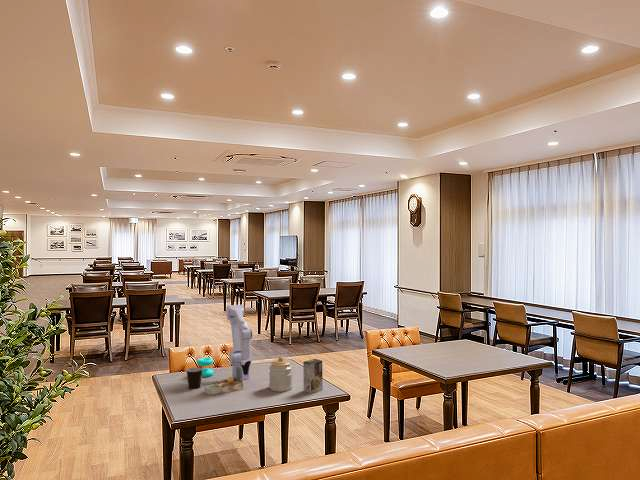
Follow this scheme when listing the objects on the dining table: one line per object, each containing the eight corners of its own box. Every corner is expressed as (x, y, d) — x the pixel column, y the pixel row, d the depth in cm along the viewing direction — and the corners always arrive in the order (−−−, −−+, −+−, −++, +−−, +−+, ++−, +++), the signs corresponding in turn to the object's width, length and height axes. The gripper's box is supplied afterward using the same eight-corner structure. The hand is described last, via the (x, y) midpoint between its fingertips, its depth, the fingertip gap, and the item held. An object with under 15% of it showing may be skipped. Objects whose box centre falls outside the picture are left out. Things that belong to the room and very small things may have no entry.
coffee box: (314, 387, 258) (314, 358, 258) (322, 389, 254) (322, 360, 254) (302, 390, 252) (302, 361, 252) (311, 393, 247) (310, 363, 247)
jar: (276, 383, 265) (276, 352, 265) (296, 386, 259) (296, 355, 259) (264, 390, 253) (264, 358, 253) (284, 393, 247) (284, 360, 247)
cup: (216, 389, 254) (216, 383, 254) (221, 392, 248) (221, 387, 248) (204, 391, 250) (204, 386, 250) (209, 395, 245) (209, 389, 245)
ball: (232, 382, 258) (232, 375, 258) (234, 383, 255) (234, 377, 255) (226, 383, 256) (226, 376, 256) (228, 384, 253) (228, 378, 253)
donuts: (193, 359, 279) (205, 356, 288) (193, 376, 279) (205, 372, 288) (204, 362, 274) (216, 358, 283) (204, 378, 274) (216, 374, 283)
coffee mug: (198, 390, 253) (198, 372, 253) (183, 389, 254) (183, 371, 254) (207, 383, 264) (207, 366, 264) (193, 382, 266) (193, 365, 266)
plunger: (238, 379, 261) (238, 367, 261) (242, 382, 256) (242, 369, 256) (233, 380, 259) (233, 367, 259) (237, 383, 255) (237, 369, 255)
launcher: (236, 384, 262) (236, 377, 262) (243, 389, 255) (243, 381, 255) (215, 388, 255) (215, 381, 255) (221, 393, 247) (221, 385, 248)
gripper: (241, 347, 268) (241, 370, 268) (235, 353, 253) (235, 378, 253) (253, 347, 267) (253, 371, 267) (248, 353, 253) (248, 378, 253)
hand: (245, 374), depth 260 cm, fingers closed
